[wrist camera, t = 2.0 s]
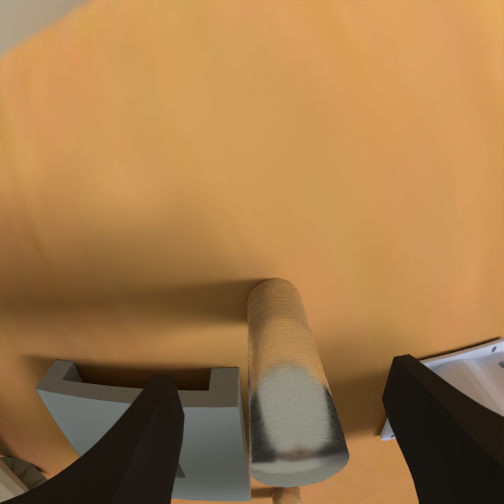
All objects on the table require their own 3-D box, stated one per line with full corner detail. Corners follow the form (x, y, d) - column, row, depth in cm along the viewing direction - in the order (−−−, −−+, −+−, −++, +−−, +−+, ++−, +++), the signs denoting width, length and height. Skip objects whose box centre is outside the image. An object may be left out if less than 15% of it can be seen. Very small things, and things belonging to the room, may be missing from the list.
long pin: (301, 277, 15) (357, 433, 6) (300, 323, 15) (340, 480, 7) (245, 280, 15) (247, 445, 6) (248, 326, 15) (252, 489, 7)
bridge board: (238, 367, 16) (237, 407, 14) (250, 471, 21) (251, 500, 18) (55, 359, 16) (35, 388, 14) (112, 461, 20) (104, 487, 18)
